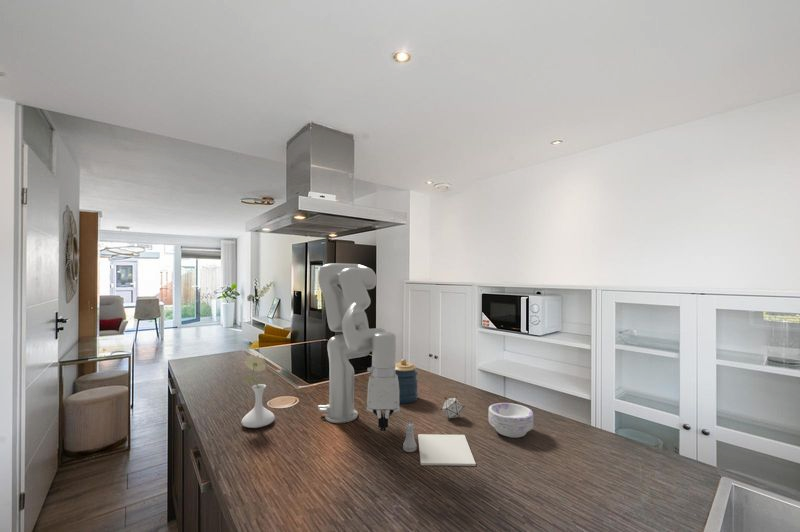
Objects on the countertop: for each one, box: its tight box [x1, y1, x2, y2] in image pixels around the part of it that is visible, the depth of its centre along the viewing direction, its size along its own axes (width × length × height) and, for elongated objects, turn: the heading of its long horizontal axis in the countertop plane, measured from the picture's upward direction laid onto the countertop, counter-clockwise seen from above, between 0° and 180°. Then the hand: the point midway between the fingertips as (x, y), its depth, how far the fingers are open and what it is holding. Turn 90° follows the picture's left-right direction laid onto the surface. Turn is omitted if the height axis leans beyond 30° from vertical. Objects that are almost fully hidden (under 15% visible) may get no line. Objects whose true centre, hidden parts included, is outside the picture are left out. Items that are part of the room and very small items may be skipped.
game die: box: [439, 395, 466, 421], centre depth 134 cm, size 9×8×10 cm
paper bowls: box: [488, 402, 534, 439], centre depth 122 cm, size 15×15×8 cm
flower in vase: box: [241, 354, 276, 429], centre depth 127 cm, size 13×11×25 cm
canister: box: [395, 358, 419, 405], centre depth 154 cm, size 13×13×18 cm
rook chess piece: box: [402, 422, 418, 453], centre depth 110 cm, size 4×4×8 cm
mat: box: [417, 433, 477, 467], centre depth 110 cm, size 16×18×1 cm
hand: (383, 429), depth 110 cm, fingers closed
